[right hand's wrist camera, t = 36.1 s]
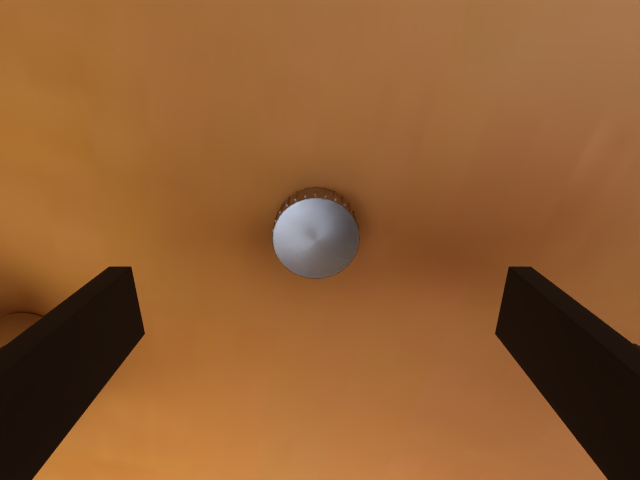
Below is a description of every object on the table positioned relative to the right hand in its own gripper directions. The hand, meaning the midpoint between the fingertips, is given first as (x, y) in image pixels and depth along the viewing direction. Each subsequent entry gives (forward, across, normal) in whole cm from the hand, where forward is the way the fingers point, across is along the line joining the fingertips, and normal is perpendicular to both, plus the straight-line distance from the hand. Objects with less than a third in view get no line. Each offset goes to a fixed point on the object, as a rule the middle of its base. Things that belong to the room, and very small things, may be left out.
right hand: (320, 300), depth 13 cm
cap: (+5, 0, -1) cm, 5 cm away
